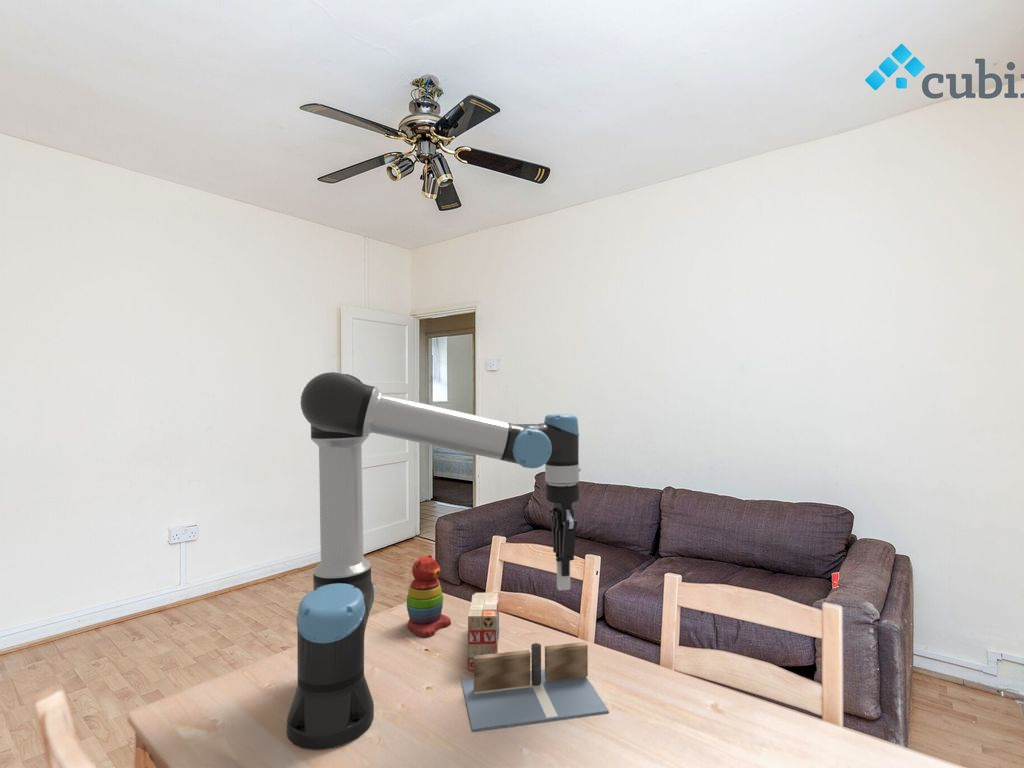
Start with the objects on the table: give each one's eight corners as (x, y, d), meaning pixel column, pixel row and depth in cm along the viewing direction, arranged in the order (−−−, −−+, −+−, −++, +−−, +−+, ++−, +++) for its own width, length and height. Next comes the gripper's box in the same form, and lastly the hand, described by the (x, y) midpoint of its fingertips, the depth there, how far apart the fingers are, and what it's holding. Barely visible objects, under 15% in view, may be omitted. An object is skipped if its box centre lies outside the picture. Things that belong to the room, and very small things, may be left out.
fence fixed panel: (474, 693, 106) (474, 654, 106) (473, 688, 108) (473, 649, 108) (542, 685, 109) (542, 647, 109) (539, 680, 111) (539, 642, 111)
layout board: (472, 731, 95) (472, 728, 95) (461, 680, 111) (461, 678, 111) (608, 712, 100) (608, 710, 100) (578, 667, 117) (578, 665, 117)
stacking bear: (427, 639, 130) (427, 566, 130) (396, 630, 135) (396, 560, 136) (454, 623, 139) (454, 555, 140) (424, 614, 145) (424, 549, 145)
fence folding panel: (546, 681, 109) (546, 649, 109) (544, 678, 111) (544, 646, 111) (587, 676, 111) (587, 644, 111) (585, 673, 112) (585, 641, 113)
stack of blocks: (475, 628, 136) (475, 580, 137) (499, 628, 136) (499, 580, 137) (467, 672, 115) (467, 615, 115) (496, 672, 115) (496, 615, 115)
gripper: (588, 487, 113) (589, 598, 113) (569, 477, 126) (570, 577, 125) (554, 489, 112) (555, 601, 111) (538, 479, 124) (539, 580, 124)
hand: (563, 588), depth 118 cm, fingers closed
